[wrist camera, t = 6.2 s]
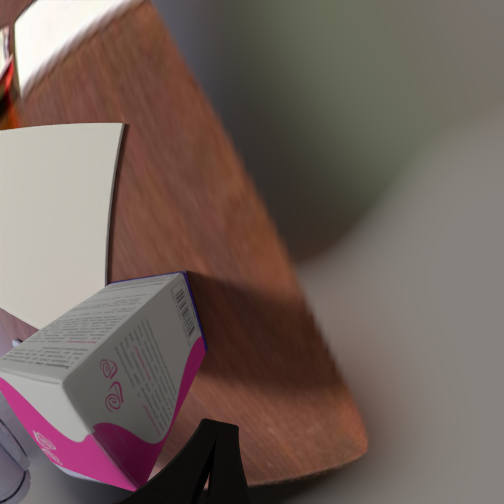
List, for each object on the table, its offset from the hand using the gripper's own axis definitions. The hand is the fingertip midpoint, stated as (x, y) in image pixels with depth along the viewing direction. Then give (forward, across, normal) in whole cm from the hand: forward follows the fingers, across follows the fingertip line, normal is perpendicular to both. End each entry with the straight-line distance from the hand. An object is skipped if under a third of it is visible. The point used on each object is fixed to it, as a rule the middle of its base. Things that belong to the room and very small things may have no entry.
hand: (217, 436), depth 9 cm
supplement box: (+9, +6, 0) cm, 10 cm away
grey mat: (+8, +19, -4) cm, 21 cm away
